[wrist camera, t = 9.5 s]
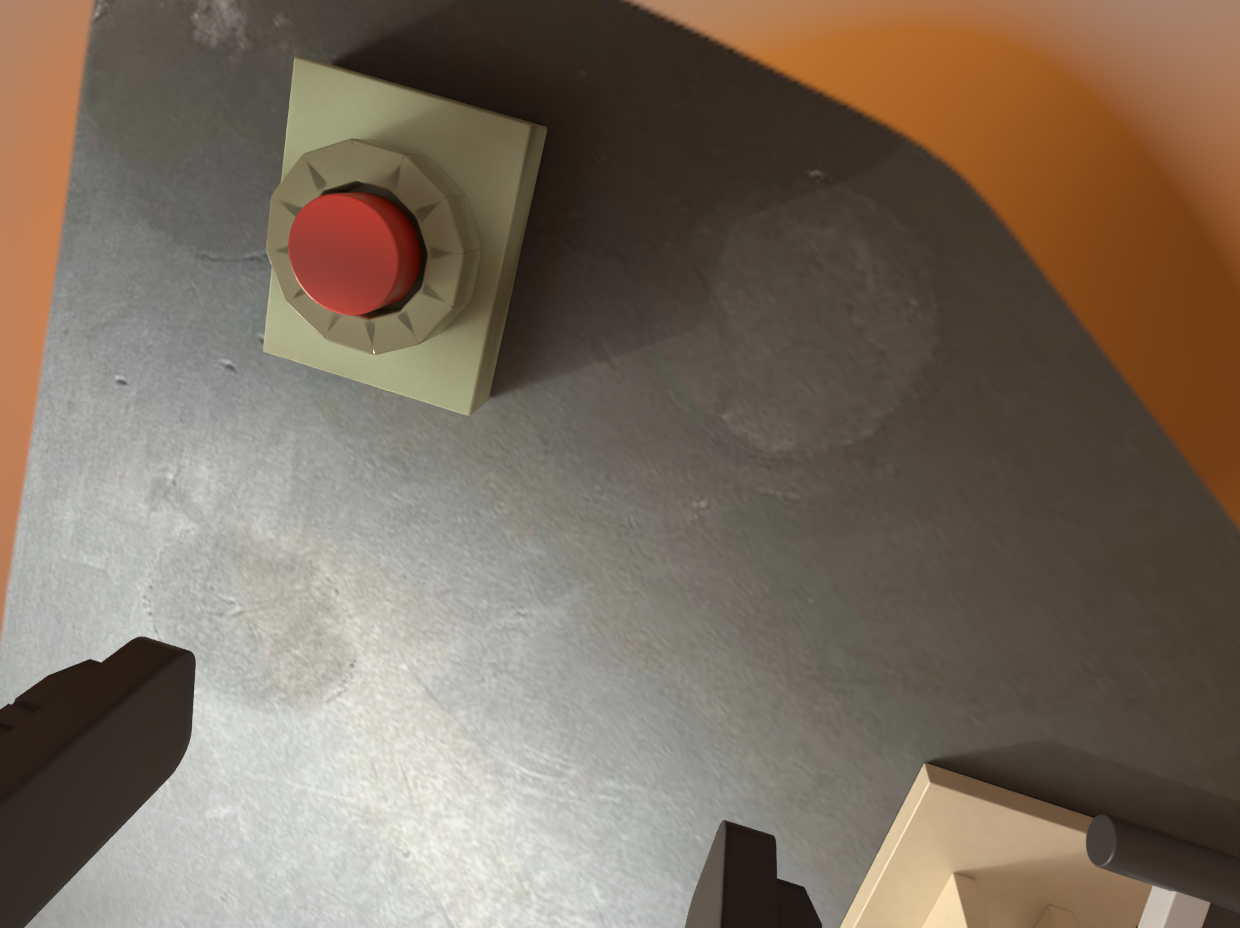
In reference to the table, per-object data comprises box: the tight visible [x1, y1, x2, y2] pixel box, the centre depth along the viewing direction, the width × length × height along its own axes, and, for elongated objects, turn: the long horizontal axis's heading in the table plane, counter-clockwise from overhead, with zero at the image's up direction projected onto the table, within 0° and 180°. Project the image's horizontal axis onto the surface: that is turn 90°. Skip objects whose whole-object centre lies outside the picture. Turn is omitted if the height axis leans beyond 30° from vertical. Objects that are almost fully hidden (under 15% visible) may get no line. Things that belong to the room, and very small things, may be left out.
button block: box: [263, 57, 547, 416], centre depth 28 cm, size 10×8×4 cm
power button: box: [288, 192, 421, 315], centre depth 26 cm, size 4×4×2 cm
